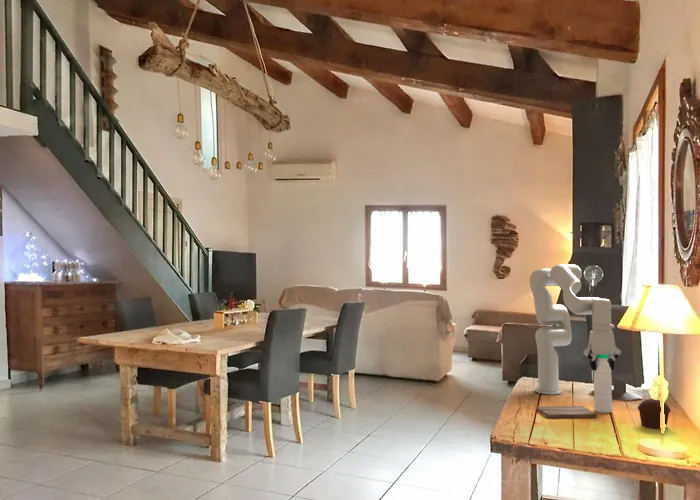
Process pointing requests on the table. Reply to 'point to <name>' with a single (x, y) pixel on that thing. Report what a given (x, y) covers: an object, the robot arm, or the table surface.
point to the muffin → (652, 413)
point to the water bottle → (602, 385)
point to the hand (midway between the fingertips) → (602, 369)
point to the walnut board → (566, 412)
